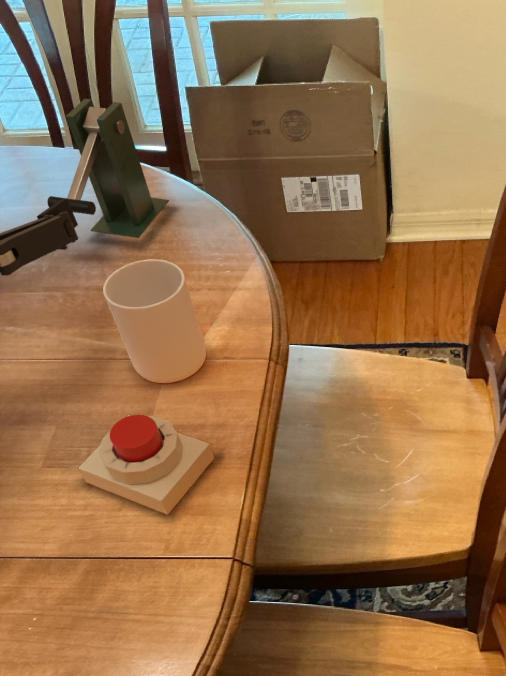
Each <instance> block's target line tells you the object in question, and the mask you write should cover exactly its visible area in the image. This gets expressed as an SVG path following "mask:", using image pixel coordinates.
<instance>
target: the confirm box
mask: <svg viewBox="0 0 506 676" xmlns="http://www.w3.org/2000/svg"><path fill="white" fill-rule="evenodd" d="M128 416H131V414H128V415H127V416H126V417H128ZM147 416H148V417H150V418H152V419H153V420H154V421H155V423H156V425H157V427H158V430H159V432H160V435H161V437H162V441H163V442H162V447H161V449H160V451H159V452H158V453H157V454H156V455H155V456H154V457H152V458H150V459H147V460H145V461H143V462H134V463H131V462H127V461H124V460H122V459H121V458H120V457H119V456H118V454H117V452H116V450H115V448H114V446H113V444H112V442H111V440H110V431H111V429H110V430H108V432H107V433H106V434H105V435H104V436H103V438H101V442H100V444H99V445H98V446H97V448H96V449H94V451H92V453H91V454H90V455H89V456H88V457H87V458H86V459H85V460H84V461H83V462H82V463H81V464H80V466H78V470H79V472H80V474H81V476H82V478H83V480H84V481H85V483H86V484H89V485H91V486H94V487H96V488H99V489H102V490H105V491H107V492H109V493H112V494H113V495H117V496H119V497H122V498H123V499H128V501H129V500H130V501H132V502H135V503H137V504H139V505H141V506H144V507H147V508H150V509H152V510H154V511H157V512H160V513H162V514H165V515H167V516H168V515H169V514H170V513H171V512H172V511H173V510H174V508H175V507H176V506H177V505H178V503H179V502H180V501H181V500H182V499H183V497H184V496H185V495H186V493H187V492H188V491H190V489H191V488H192V486H193V485H194V484H195V483H196V481H197V480H198V479H199V478H200V477H201V475H202V474H203V473H204V472H205V470H206V469H207V468H208V467H209V465H210V464H212V462H213V461H214V460H215V456H214V453H213V451H212V448H211V445H210V443H209V442H206V441H202V440H200V439H198V438H195V437H192V436H189V435H187V434H183V433H181V432H178V431H177V430H176V429H175V427H174V426H173V425H172V423H171V421H168V420H166V419H164V418H161V417H158V416H155V415H147Z"/></svg>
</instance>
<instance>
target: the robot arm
mask: <svg viewBox="0 0 506 676" xmlns="http://www.w3.org/2000/svg"><path fill="white" fill-rule="evenodd" d="M77 221H78V220H77V219H76V216H75V214H74V212H72V209H71V207H70V204H69V202H68V200H67V199H62V200H59V201H58V202H57V203H55V204H54V205H52V206H51V207H49V206H48V208H46V209H45V210H44V211H42V212H40V213H39V214H37V215H36V219H35V220H32V221H30V222H26V223H23V224H21V225H19V226H18V225H17V226H16V227H13V228H10V229H8V230H5V231H2V232H0V275H1V276H10V275H12V274H13V273H15V272H16V271H17V270H19V269H21V268H22V267H24V266H26V265H29V264H30V263H32V262H34V261H36V260H38V259H40V258H42V257H44V256H47V255H49V254H51V253H52V252H56V251H57V250H60V251H65V250H67V249H68V245H70V244H71V243H76V242H77V241H79V236H78V234H77V231H76V230H75V228H76V227H77V226H79V224H78V222H77Z"/></svg>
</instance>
